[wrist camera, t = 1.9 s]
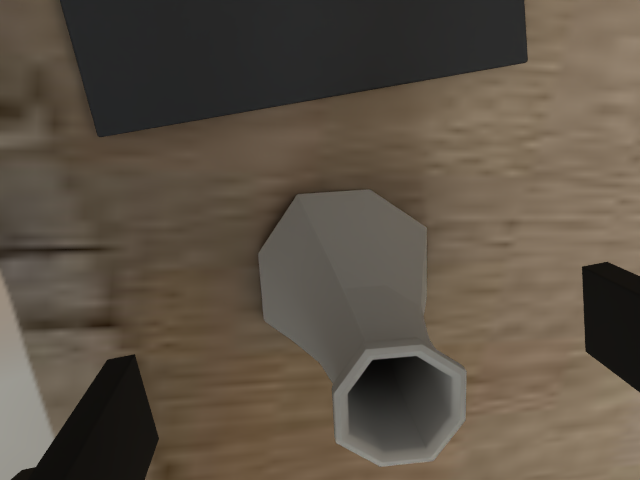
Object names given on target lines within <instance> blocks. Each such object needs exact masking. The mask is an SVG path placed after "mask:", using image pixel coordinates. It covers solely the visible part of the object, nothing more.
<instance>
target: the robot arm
mask: <svg viewBox="0 0 640 480" xmlns="http://www.w3.org/2000/svg"><path fill="white" fill-rule="evenodd" d="M582 277H583V301H584V324H585V348H586V352H587V353H588V354H590V355H591V356H592V357H594V358H595V359H596V360H598V361H599V362H600V363H602V364H603V365H604V366H606V367H607V368H608V369H610V370H611V371H612V372H614V373H615V374H616V375H618V376H619V377H620V378H621V379H623V380H624V381H625V382H627V383H628V384H629V385H631V386H632V387H633V388H635V389H636V390H637V391H639V392H640V276H638V275H636V274H633V273H631V272H629V271H627V270H624V269H622V268H620V267H617V266H615V265H613V264H611V263H608V262H604V263H599V264H594V265H589V266H584V267H582ZM158 440H159V437H158V434H157V430H156V427H155V423H154V420H153V416H152V413H151V409H150V406H149V402H148V399H147V395H146V392H145V388H144V385H143V382H142V378H141V375H140V371H139V368H138V364H137V361H136V357H135V354H134V355H129V356H124V357H119V358H114V359H109V360H107V361H106V363H105V364H104V366H103V367H102V369H101V370H100V372H99V373H98V375H97V376H96V378H95V379H94V381H93V382H92V384H91V385H90V387H89V388H88V390H87V391H86V393H85V394H84V396H83V397H82V399H81V400H80V402H79V403H78V405H77V406H76V408H75V409H74V411H73V412H72V414H71V415H70V417H69V418H68V420H67V421H66V423H65V424H64V426H63V427H62V429H61V430H60V432H59V433H58V435H57V436H56V438H55V439H54V441H53V442H52V444H51V445H50V447H49V448H48V450H47V451H46V453H45V454H44V456H43V457H42V459H41V460H40V462H39V463H38V465H37V466H36V467H35V468H29V469H25V470H22V471H20V472H19V473H18V474H17V475H16V476H15V477H13V478H12V479H11V480H145V477H146V474H147V471H148V468H149V466H150V463H151V460H152V457H153V454H154V451H155V448H156V445H157V442H158Z"/></svg>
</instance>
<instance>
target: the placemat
mask: <svg viewBox="0 0 640 480" xmlns="http://www.w3.org/2000/svg"><path fill="white" fill-rule="evenodd" d="M60 2H61V6H62V9H63V13H64V17H65V20H66V24H67V27H68V31H69V35H70V38H71V42H72V45H73V49H74V53H75V56H76V60H77V63H78V67H79V71H80V74H81V78H82V81H83V85H84V89H85V92H86V96H87V99H88V103H89V107H90V110H91V114H92V117H93V121H94V125H95V128H96V132H97V135H98V136H99V137H104V136H110V135H116V134H121V133H127V132H133V131H139V130H144V129H150V128H156V127H161V126H167V125H173V124H178V123H184V122H190V121H196V120H201V119H207V118H213V117H218V116H224V115H230V114H236V113H241V112H247V111H253V110H258V109H264V108H270V107H276V106H281V105H287V104H293V103H298V102H304V101H310V100H315V99H321V98H327V97H333V96H338V95H344V94H350V93H355V92H361V91H367V90H373V89H378V88H384V87H390V86H395V85H401V84H407V83H412V82H418V81H424V80H430V79H435V78H441V77H447V76H452V75H458V74H464V73H470V72H475V71H481V70H487V69H492V68H498V67H504V66H510V65H515V64H521V63H526V62H527V60H528V57H527V40H526V23H525V6H524V0H60Z"/></svg>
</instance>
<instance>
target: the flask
mask: <svg viewBox="0 0 640 480" xmlns="http://www.w3.org/2000/svg"><path fill="white" fill-rule="evenodd" d="M258 259H259V270H260V282H261V293H262V305H263V316H264V321H266V322H267V323H268V324H269V325H270V326H272V327H273V328H275V329H276V330H278V331H279V332H281V333H282V334H284V335H285V336H287V337H288V338H289V339H291V340H292V341H294V342H295V343H296V344H297V345H298V346H300V347H301V348H302V349H303V350H304V351H306V352H307V353H308V354H309V355H311V356H312V357H313V358H314V359H315V360H317V361H318V362H319V363H320V364H321V365H322V367H323V369H324V370H325V372H326V373H327V375H328V377H329V378H330V380H331V381H332V383H333V386H332V398H333V417H334V436H335V441H336V443H337V444H339V445H341V446H343V447H345V448H347V449H348V450H350V451H352V452H354V453H356V454H358V455H360V456H362V457H363V458H365V459H367V460H369V461H371V462H373V463H375V464H377V465H378V466H380V467H381V466H391V465H401V464H410V463H420V462H429V461H434V459H435V458H436V457H437V456H438V454H439V453H440V452H441V451H442V449H443V448H444V447H445V446H446V444H447V443H448V442H449V440H450V439H451V438H452V437H453V435H454V434H455V433H456V432H457V430H458V429H459V428H460V427H461V425H462V424H463V423H464V421H465V414H466V370H465V368H464V366H462V365H461V364H459V363H458V362H456V361H454V360H453V359H451V358H450V357H448V356H446V355H445V354H443V353H441V352H440V351H438V350H436V349H435V347H434V346H433V344H432V342H431V341H430V339H429V337H428V333H427V329H426V325H425V321H424V317H423V316H424V311H425V305H426V298H427V227H425V226H424V225H422V224H421V223H419V222H418V221H416V220H415V219H413V218H412V217H410V216H409V215H407V214H406V213H404V212H403V211H401V210H400V209H398V208H397V207H395V206H394V205H392V204H391V203H389V202H388V201H387V200H385V199H384V198H382V197H381V196H379V195H378V194H376V193H375V192H373V191H372V190H370V189H367V190H352V191H337V192H322V193H307V194H297V195H296V197H295V198H294V200H293V201H292V203H291V205H290V206H289V208H288V209H287V211H286V212H285V214H284V215H283V217H282V218H281V220H280V221H279V223H278V224H277V226H276V227H275V229H274V230H273V232H272V233H271V235H270V236H269V238H268V239H267V241H266V242H265V244H264V245H263V247H262V249H261V250H260V252H259V253H258Z"/></svg>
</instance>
